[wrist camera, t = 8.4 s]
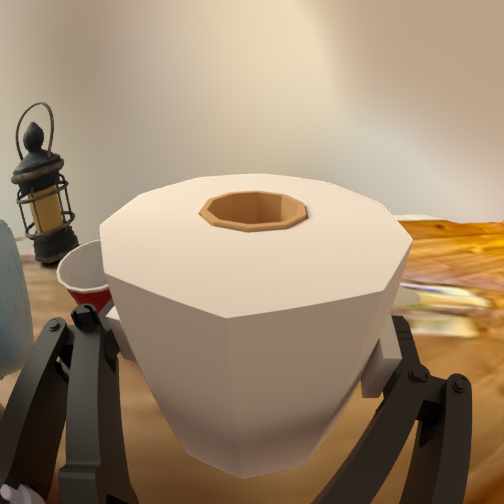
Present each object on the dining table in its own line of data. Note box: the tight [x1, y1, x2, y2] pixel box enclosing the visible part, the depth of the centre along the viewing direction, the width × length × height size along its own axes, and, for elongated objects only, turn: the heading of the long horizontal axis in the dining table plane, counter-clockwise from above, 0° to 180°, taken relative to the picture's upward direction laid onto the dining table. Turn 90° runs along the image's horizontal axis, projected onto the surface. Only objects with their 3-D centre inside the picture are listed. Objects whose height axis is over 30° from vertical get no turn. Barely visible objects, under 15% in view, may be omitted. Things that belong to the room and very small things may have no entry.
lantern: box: [11, 102, 79, 263], centre depth 44 cm, size 14×13×35 cm
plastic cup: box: [56, 239, 112, 313], centre depth 31 cm, size 11×11×12 cm
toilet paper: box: [100, 173, 413, 479], centre depth 12 cm, size 10×10×12 cm
